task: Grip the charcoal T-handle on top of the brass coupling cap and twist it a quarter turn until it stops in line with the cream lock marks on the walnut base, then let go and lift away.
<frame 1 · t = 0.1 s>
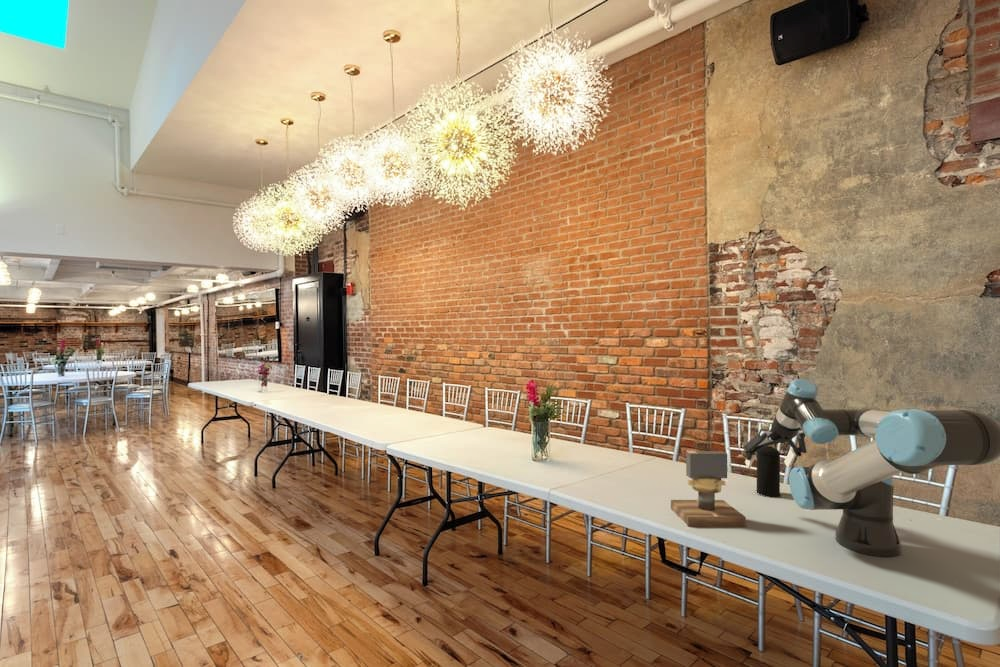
hand: (767, 465, 174), 15 cm above the table, tool tilted 35°, fingers open, 13 cm apart
coupling: (706, 470, 167), point 15 cm above the table, hinge at 0.0°
aerosol can: (768, 494, 191), on the table
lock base: (706, 517, 167), on the table
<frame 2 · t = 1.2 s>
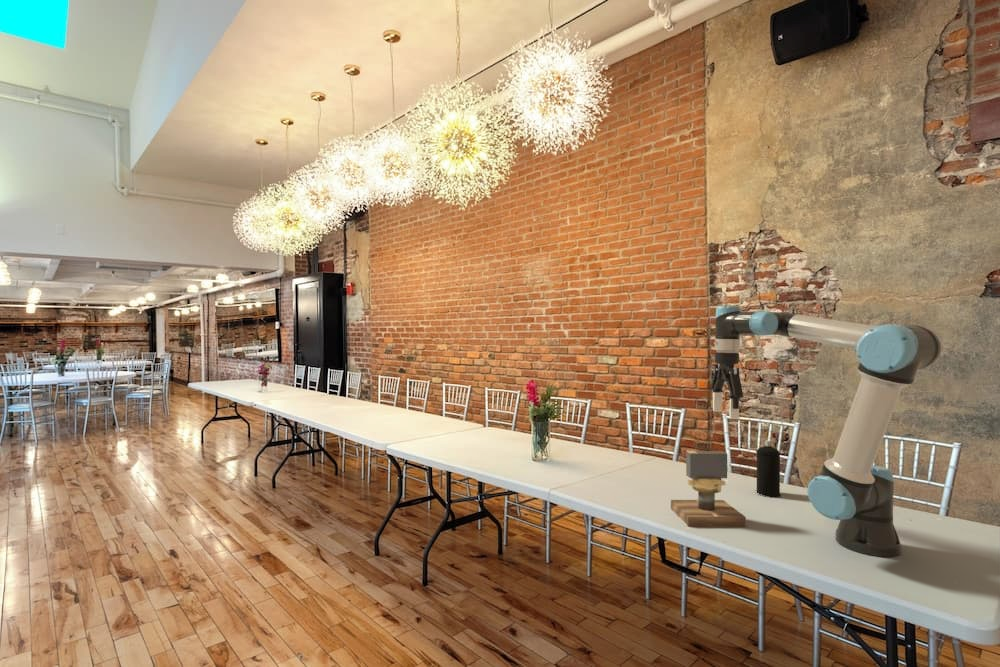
hand: (725, 414, 171), 33 cm above the table, tool pointing down, fingers open, 13 cm apart
nothing on the table moved.
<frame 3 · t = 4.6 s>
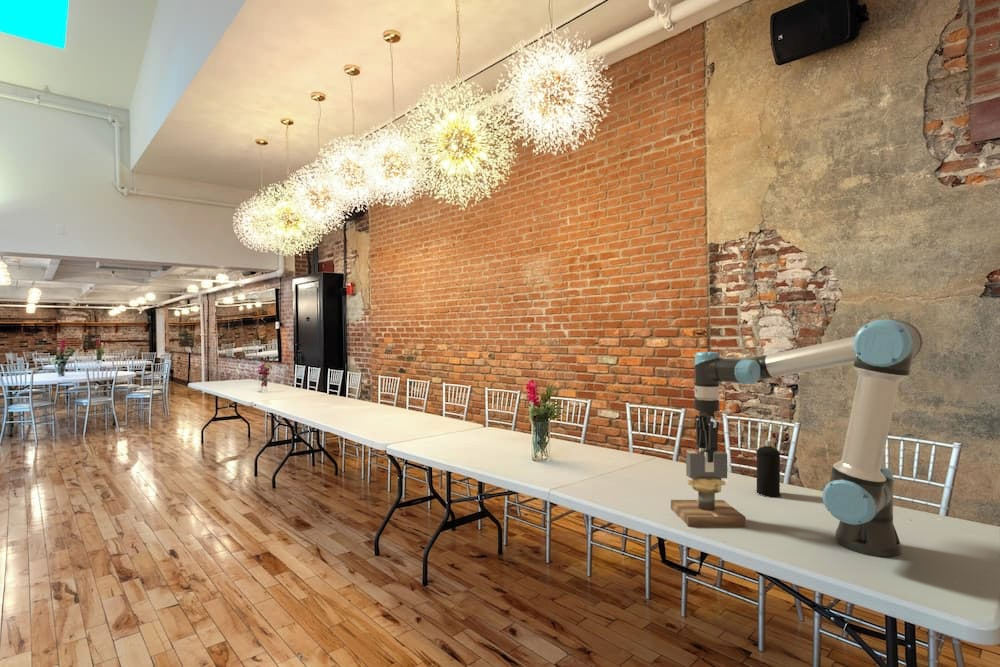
hand: (706, 469, 167), 16 cm above the table, tool pointing down, fingers closed on coupling, 4 cm apart
coupling: (706, 470, 167), point 15 cm above the table, hinge at 0.0°, touching gripper
everything else where it was.
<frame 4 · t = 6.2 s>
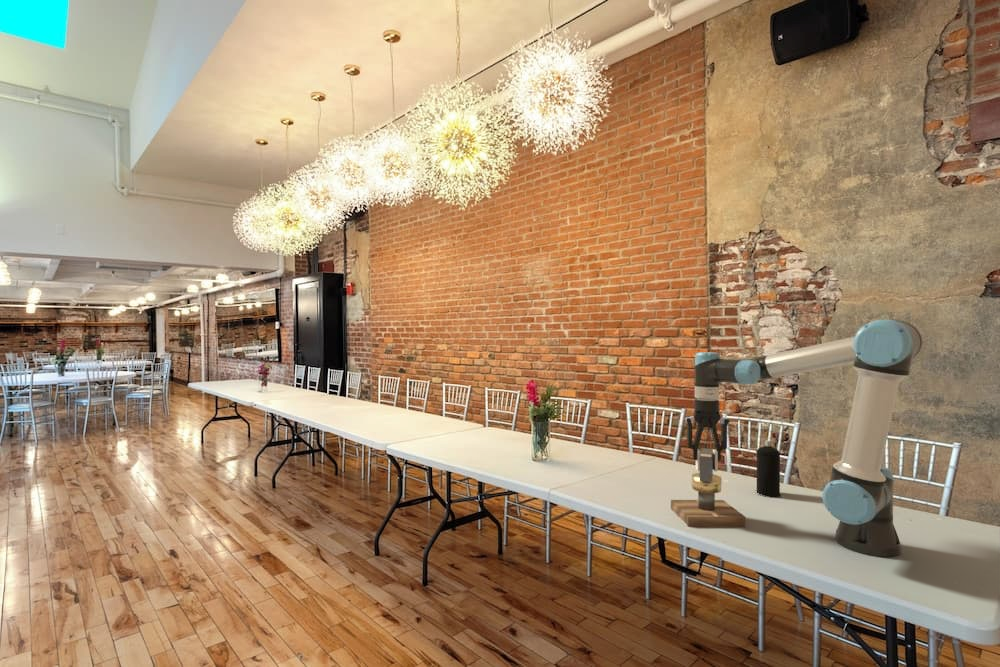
hand: (706, 469, 167), 16 cm above the table, tool pointing down, fingers closed on coupling, 5 cm apart
coupling: (706, 470, 167), point 15 cm above the table, hinge at 65.7°, touching gripper
everything else where it was.
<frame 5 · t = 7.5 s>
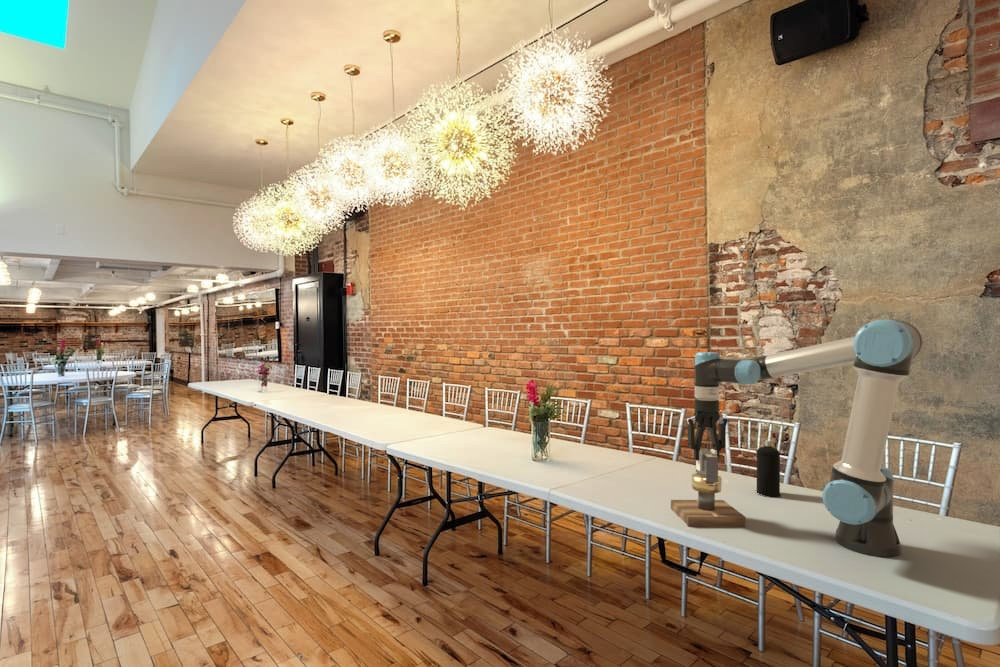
hand: (706, 469, 167), 16 cm above the table, tool pointing down, fingers closed on coupling, 4 cm apart
coupling: (706, 470, 167), point 15 cm above the table, hinge at 83.8°, touching gripper
everything else where it was.
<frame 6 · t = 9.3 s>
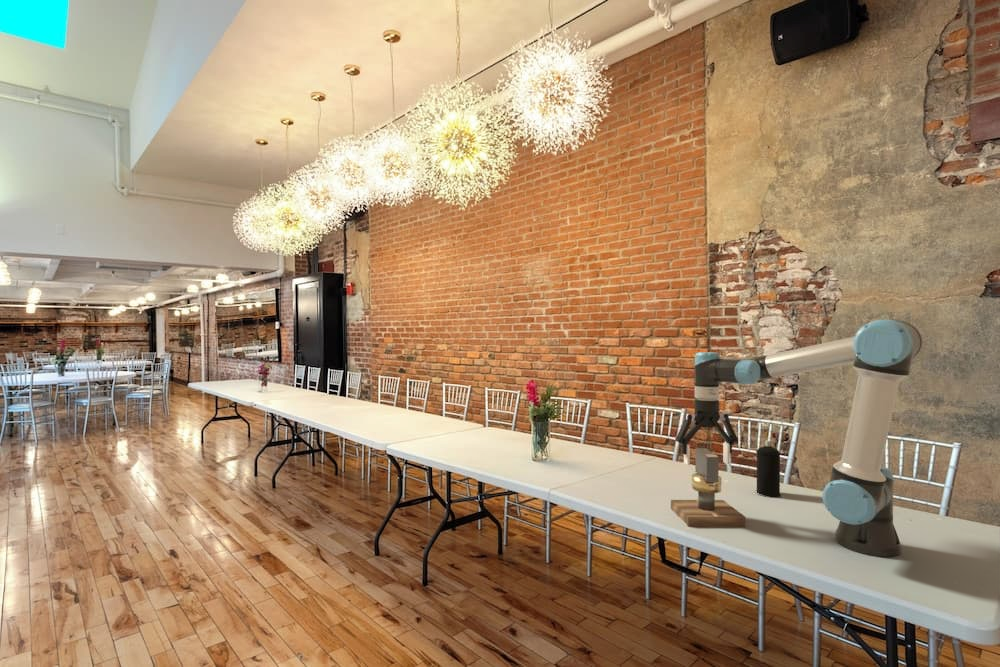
hand: (706, 463, 167), 18 cm above the table, tool pointing down, fingers open, 13 cm apart
coupling: (706, 470, 167), point 15 cm above the table, hinge at 85.0°
everything else where it was.
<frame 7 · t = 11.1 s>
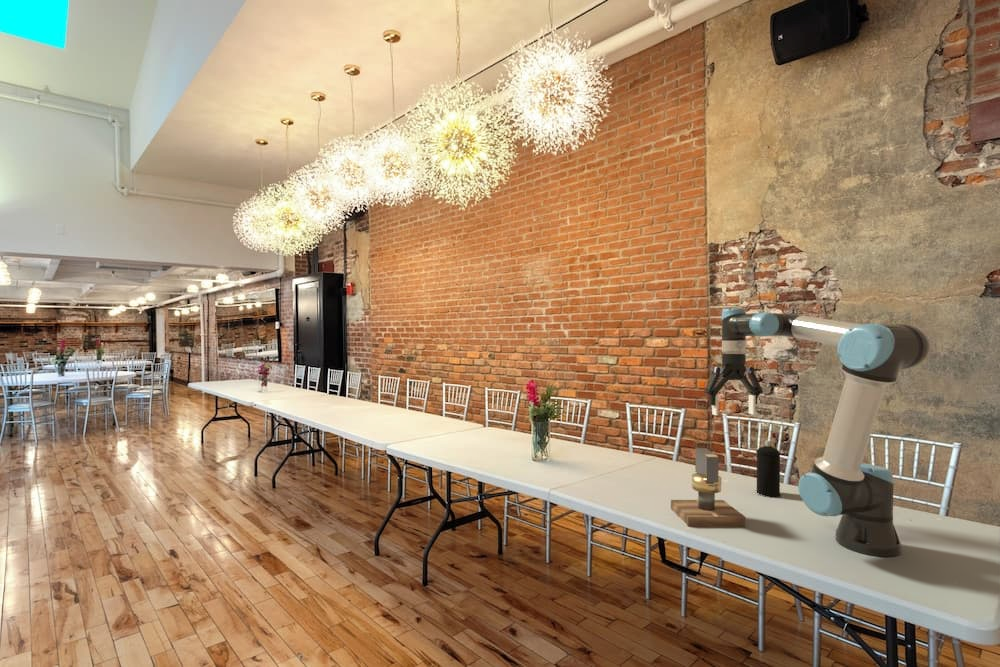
hand: (733, 414, 175), 32 cm above the table, tool pointing down, fingers open, 13 cm apart
nothing on the table moved.
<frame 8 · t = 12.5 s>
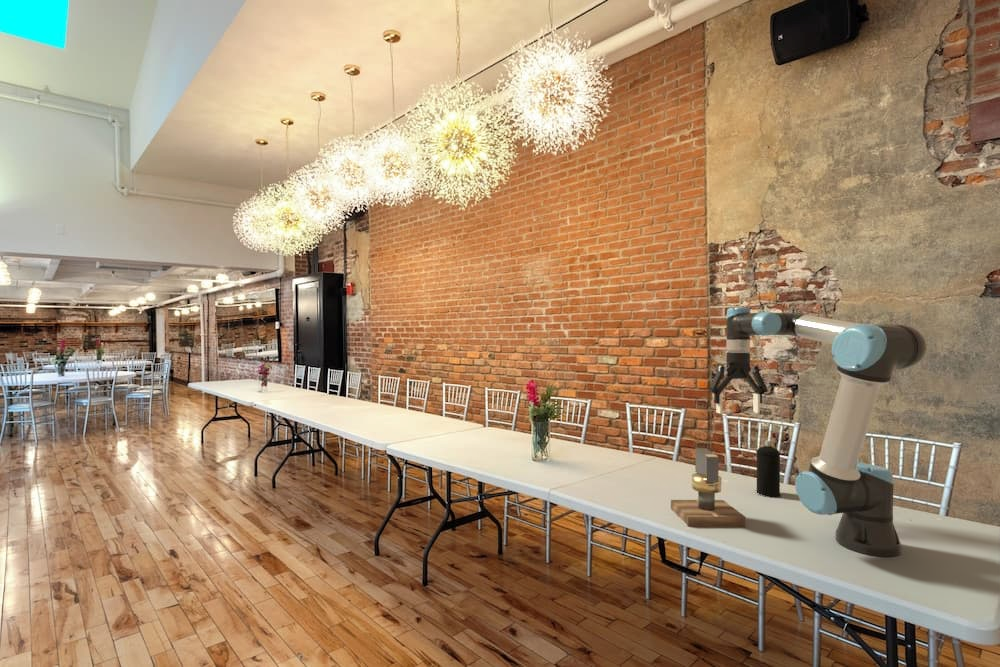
hand: (738, 412, 177), 33 cm above the table, tool pointing down, fingers open, 13 cm apart
nothing on the table moved.
at the end: coupling at +85° (first picture: +0°); the gripper is holding nothing; aerosol can moved 0.2 cm from its start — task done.
